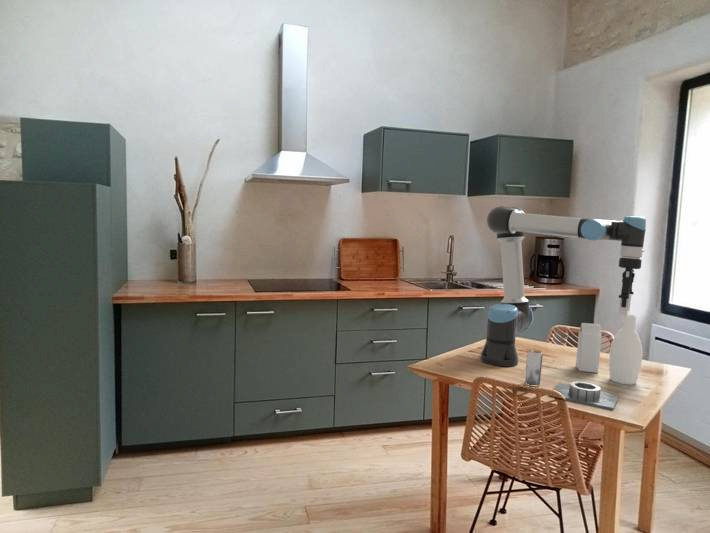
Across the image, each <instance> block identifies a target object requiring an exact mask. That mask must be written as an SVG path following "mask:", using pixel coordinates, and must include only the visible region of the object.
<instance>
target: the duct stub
mask: <svg viewBox="0 0 710 533" xmlns="http://www.w3.org/2000/svg"><path fill="white" fill-rule="evenodd" d="M542 366H543V351H542V349H538V348H534V349H528V350H527V352H526V365H525V376H524V378H525V379H524V384H525V383H527V384H529V385H537V386H536V387H539V386H540V385H541V379H542V378H541V376H542ZM529 385H528V386H529ZM538 385H539V386H538Z"/></svg>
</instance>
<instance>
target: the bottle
mask: <svg viewBox="0 0 710 533" xmlns="http://www.w3.org/2000/svg"><path fill="white" fill-rule="evenodd" d="M622 317H623V318H622V324H621V328H620V329H619V330H618V331H617V332H616V334H615V335H614V338H613V340H612V341H611V345H610V349H609V358H608V362H609V363H608V366H609V367H608V369H609V378H610V380H611V382H614V383H618V384H621V385H625V386H627V385H628V386H629V385H631V386H633V385H636V384H637V383H638V379H639V375H640V372H641V368H642V360H643V346H642V345H643V344H642V342H641V337H640V336H639V334H638V332H637V330H636V324H637V322H636V321H637V316H636V315H634V314H629V313H627V316H622Z"/></svg>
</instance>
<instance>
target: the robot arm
mask: <svg viewBox="0 0 710 533" xmlns="http://www.w3.org/2000/svg"><path fill="white" fill-rule="evenodd" d="M486 223H487V227H488V229H490V231H491V232H493V233H495V234H496V240H497V241H498V242H499V243H500V250H501V251H500V252H501V268H502V285H503V299H502V300H501V301H500V303H496V304H493V305H491V306H489V308H488V312H487V326H486V338H485V344H484V345H483V348H482V350H481V353H480V359H479V360H481V362H483V363H486V364H488V365H492V366H496V367H497V366H498V367H513V366H514V367H515V366H517V365H519V356H518V352H517V347H516V339H517V338H516V337H517V335H516V334H517V333H521V332H524V331H525V330H527V329H528V328H530V327H531V325H532V324H533V322H534V318H535V317H534V313H533V310H532V308H531V307H530V300H529V299H528V298H526V296H525V293H526V292H525V279H524V267H523V266H524V264H523V250H522V249H523V247H522V243H523V240H524V239H525V236H526V234H525V233H527V234H528V233H529V234H538V235H548V236H558V237H564V238H565V237H567V238H573V239H576V238H577V239H583V240H588V241H601V240H602V241H603V240H605V241H606V240H607V241H618V242H621V244H620V249H619V256H620V257H619V260H618V267H619V268H622V269H625V270H624V271H623V272H622V276H621V277H622V279H621V282H622V285H621V292H620V295H618V299H620V300H619V308H618V316H620V317H621V316H622V317H623V316H627V314H628V312H630V308H631V299H632V295H634V291H633V283H634V280H635V273H634V272H635V270H640V269H641V268H642V261H643V259H641V258H642V257H643V253H645V249H644V243H645V236H646V230H647V228H646V227H647V226H646V224H647V219H646V217H644V216H632V215H631V216H630V215H629V216H624V218H623V220H610V219H597V218H582V217H572V216H561V215H560V216H559V215H551V214H550V215H549V214H537V213H527V212H524V211H523V209H521V208H518V207H516V206H504V205H501V206H500V205H499V206H496V207H494V208H492V209H490V211H489V213H488V215H487V217H486Z"/></svg>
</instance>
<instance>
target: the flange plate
mask: <svg viewBox="0 0 710 533" xmlns="http://www.w3.org/2000/svg"><path fill="white" fill-rule="evenodd" d="M601 389H602V388H601V387H600V386H599V385H597V384H594V383H591V382H587V381H577V380H575V381H571V382H570V383H569V384H568V383H562V382H557V383H556V385H555V386H554V388H553V389H552V390H556V391H558V392H560V393H561V394H562V395H563V396H564V397H565V399H566V400H565V401H569V402H574V403H577V404H582V405H588V406H590V407H591V406H593V407H596V408H601V409H606V410H609V411H614V410H615V407H616V405H617V403H618V401H619V398H620V394H617V393H612V392H608V391H607V392H606V391H602V390H601Z"/></svg>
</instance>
